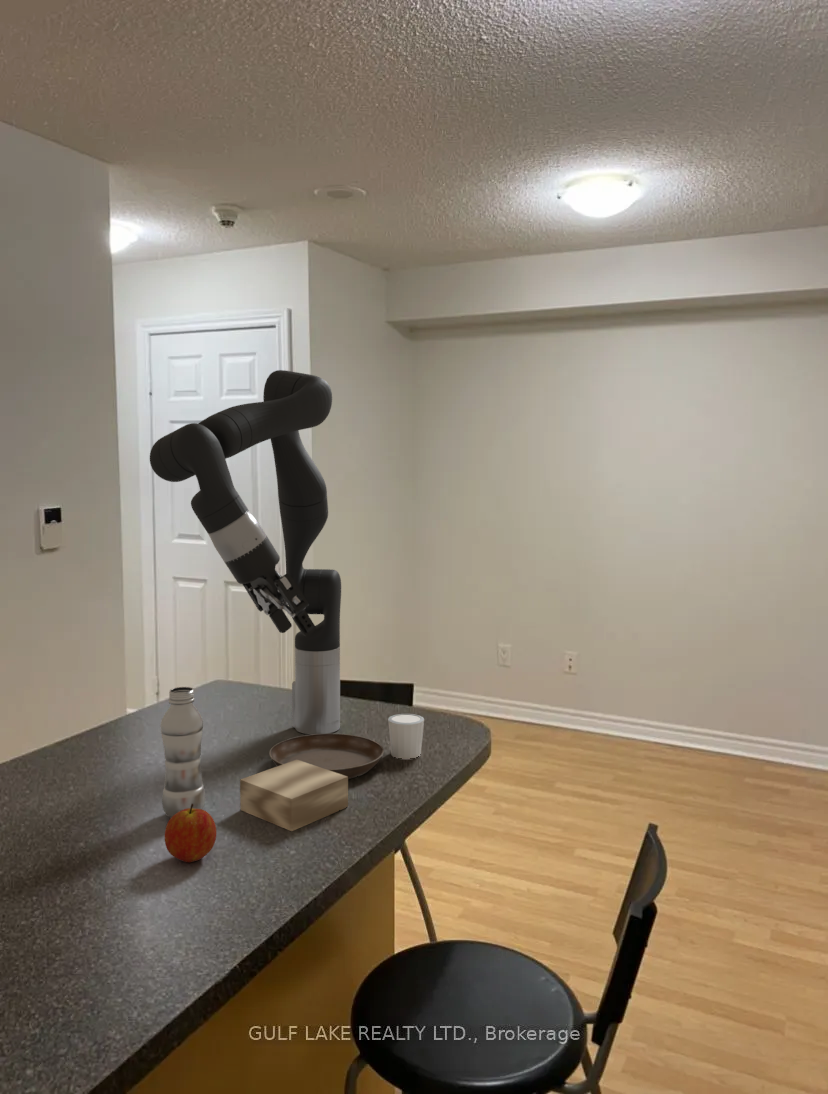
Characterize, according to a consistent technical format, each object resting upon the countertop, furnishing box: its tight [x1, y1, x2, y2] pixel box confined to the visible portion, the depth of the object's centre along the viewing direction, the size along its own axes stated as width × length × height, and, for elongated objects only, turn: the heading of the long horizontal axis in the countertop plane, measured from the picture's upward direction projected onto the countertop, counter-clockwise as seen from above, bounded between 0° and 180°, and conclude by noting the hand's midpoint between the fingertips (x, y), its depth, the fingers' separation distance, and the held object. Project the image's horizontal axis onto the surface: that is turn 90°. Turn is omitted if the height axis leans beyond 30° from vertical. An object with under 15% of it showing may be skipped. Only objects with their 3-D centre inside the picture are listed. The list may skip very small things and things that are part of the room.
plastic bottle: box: [159, 686, 206, 819], centre depth 130 cm, size 6×7×20 cm
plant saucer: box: [268, 733, 385, 780], centre depth 154 cm, size 21×21×3 cm
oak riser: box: [239, 760, 349, 832], centre depth 134 cm, size 12×12×5 cm
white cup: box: [387, 713, 425, 760], centre depth 160 cm, size 7×7×7 cm
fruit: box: [164, 803, 217, 864], centre depth 117 cm, size 7×7×8 cm
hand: (298, 631), depth 134 cm, fingers open, 8 cm apart
